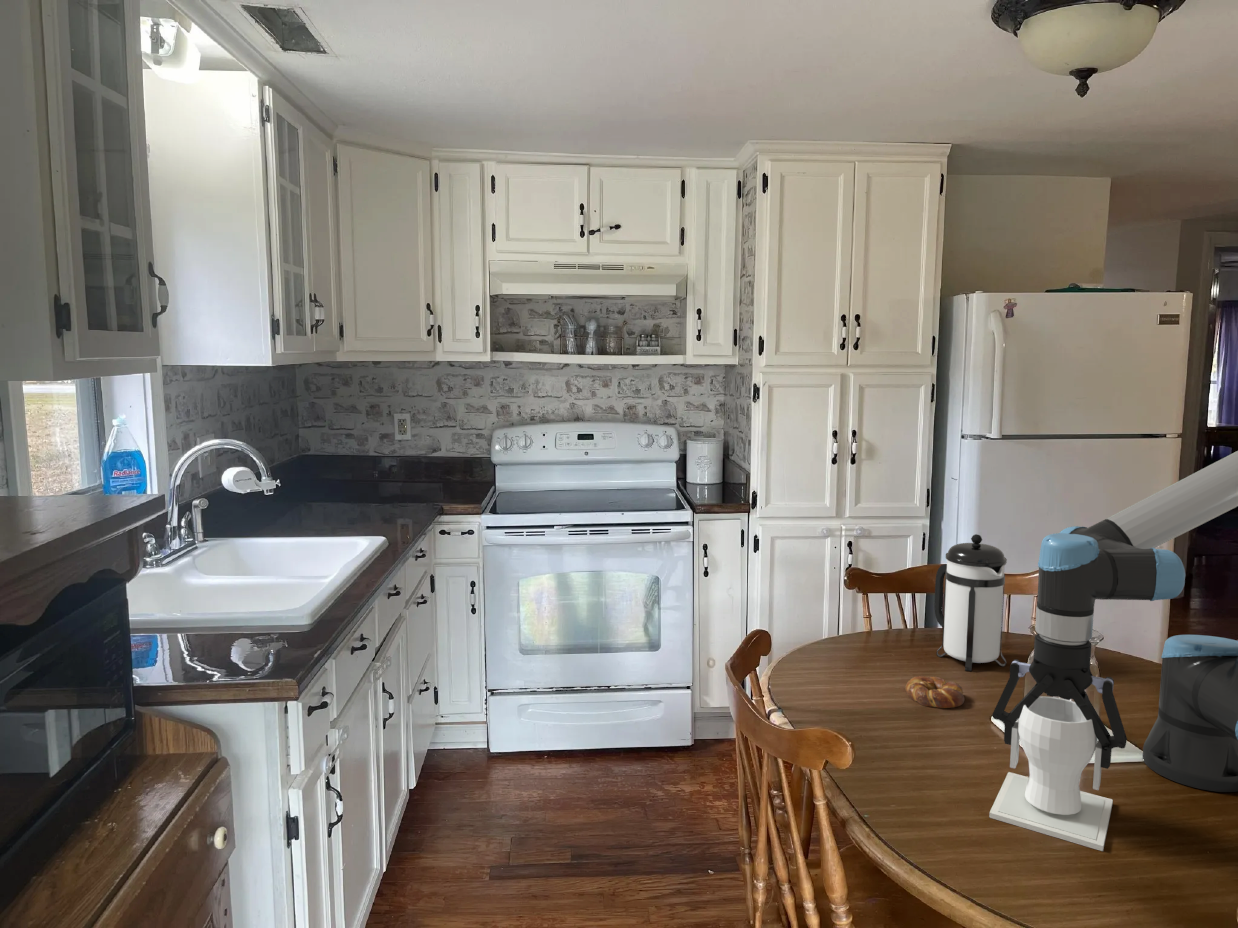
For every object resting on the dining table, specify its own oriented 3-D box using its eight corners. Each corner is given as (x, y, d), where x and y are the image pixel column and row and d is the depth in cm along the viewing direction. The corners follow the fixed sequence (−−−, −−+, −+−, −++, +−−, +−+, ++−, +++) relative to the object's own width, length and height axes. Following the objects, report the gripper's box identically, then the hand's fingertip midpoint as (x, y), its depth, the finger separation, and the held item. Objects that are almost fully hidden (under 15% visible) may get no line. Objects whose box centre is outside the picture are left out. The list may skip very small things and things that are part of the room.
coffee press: (1010, 655, 190) (1017, 531, 187) (1001, 677, 177) (1008, 544, 173) (933, 642, 199) (938, 523, 196) (919, 662, 186) (924, 535, 182)
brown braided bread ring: (892, 696, 168) (893, 679, 168) (922, 684, 175) (923, 667, 174) (945, 715, 159) (946, 697, 158) (975, 701, 165) (975, 684, 165)
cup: (1023, 776, 132) (1028, 689, 130) (1098, 798, 125) (1104, 706, 123) (1006, 804, 124) (1011, 711, 122) (1085, 829, 117) (1091, 731, 115)
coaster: (1112, 804, 126) (1112, 798, 126) (1102, 851, 114) (1103, 845, 114) (1008, 776, 135) (1008, 771, 135) (989, 817, 123) (989, 811, 123)
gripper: (1155, 644, 118) (1144, 786, 120) (985, 616, 131) (979, 745, 134) (1153, 660, 112) (1141, 809, 114) (975, 629, 125) (968, 763, 128)
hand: (1054, 774), depth 124 cm, fingers closed on cup, 11 cm apart
